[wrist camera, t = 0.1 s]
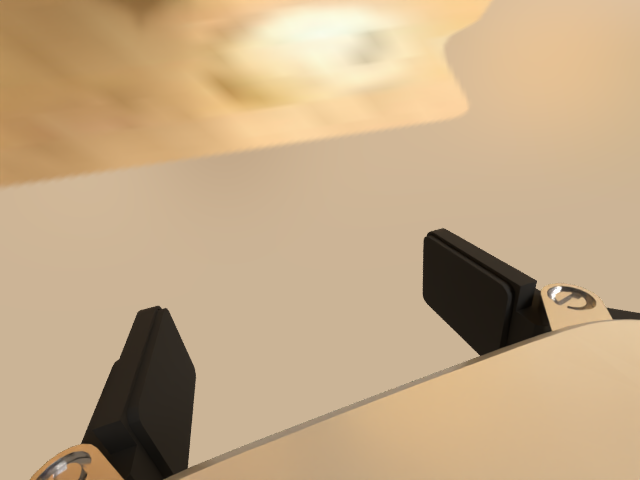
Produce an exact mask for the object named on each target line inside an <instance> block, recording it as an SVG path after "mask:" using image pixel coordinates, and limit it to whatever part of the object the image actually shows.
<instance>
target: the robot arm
mask: <svg viewBox="0 0 640 480" xmlns="http://www.w3.org/2000/svg"><path fill="white" fill-rule="evenodd" d="M536 283H537V281H536V280H535V279H533V278H531V277H529V276H528V275H526V274H524V273H522V272H520V271H519V270H517V269H515V268H513V267H512V266H510V265H508V264H506V263H505V262H503V261H501V260H499V259H497V258H496V257H494V256H492V255H490V254H489V253H487V252H485V251H483V250H482V249H480V248H478V247H476V246H474V245H473V244H471V243H469V242H467V241H466V240H464V239H462V238H460V237H459V236H457V235H455V234H453V233H451V232H450V231H448V230H446V229H444V228H443V229H439V230H435V231H431V232H429V233H428V234H427V237H425V238H424V249H423V298H424V300H425V301H426V303H427V304H428V305H429V306H430V307H431V308H432V309H433V310H434V311H435V312H436V313H437V314H438V315H439V316H440V317H441V318H442V319H443V320H444V321H445V322H446V323H447V324H448V325H450V327H451V328H453V329H454V330H455V331H456V332H457V333H458V334H459V335H460V336H461V337H462V338H463V339H464V340H465V341H466V342H467V343H468V344H469V345H470V346H471V347H472V348H473V349H474V350H475V351H476V352H477V353H478V354H479V355H480V356H479V357H476V358H474V359H471V360H468V361H466V362H463V363H461V364H458V365H455V366H452V367H450V368H447V369H444V370H441V371H439V372H436V373H433V374H431V375H428V376H425V377H423V378H420V379H418V380H415V381H412V382H409V383H407V384H404V385H401V386H399V387H396V388H394V389H391V390H388V391H385V392H383V393H380V394H378V395H375V396H373V397H370V398H367V399H364V400H362V401H359V402H357V403H354V404H351V405H349V406H346V407H343V408H341V409H338V410H335V411H333V412H330V413H328V414H325V415H323V416H320V417H317V418H315V419H312V420H309V421H307V422H304V423H302V424H299V425H297V426H294V427H291V428H289V429H286V430H283V431H281V432H278V433H275V434H273V435H270V436H268V437H265V438H263V439H260V440H257V441H255V442H252V443H250V444H247V445H245V446H242V447H240V448H237V449H235V450H232V451H230V452H227V453H225V454H222V455H220V456H217V457H215V458H212V459H210V460H207V461H205V462H202V463H200V464H198V465H195V466H193V467H190V468H188V458H189V447H190V435H191V424H192V414H193V403H194V402H193V401H194V391H195V380H196V373H195V368H194V365H193V363H192V361H191V359H190V357H189V354H188V352H187V350H186V348H185V346H184V343H183V342H182V339H181V337H180V335H179V332H178V330H177V328H176V326H175V324H174V321H173V319H172V317H171V315H170V313H169V311H168V310H167V309H166V308H165V309H161V307H160V306H155V307H151V308H148V309H144V310H140V311H139V312H138V313H137V315H136V318H135V321H134V323H133V326H132V329H131V331H130V333H129V336H128V338H127V341H126V344H125V346H124V348H123V351H122V354H121V356H120V359H119V360H118V361H116V362H115V363H114V365H113V367H112V369H111V372H110V374H109V377H108V379H107V381H106V384H105V387H104V389H103V391H102V394H101V397H100V399H99V401H98V404H97V406H96V409H95V411H94V413H93V416H92V418H91V421H90V423H89V426H88V428H87V430H86V433H85V436H84V438H83V440H82V443H81V444H80V445H76V446H73V447H70V448H68V449H66V450H64V451H62V452H60V453H59V454H57V455H56V456H55V457H53V458H52V459H50V460H49V461H47V462H46V463H45V464H44V465H43V466H42V467H41V468H40V469H39V470H38V471H37V472H36V473H35V474H34V475H33V476H32V477H31V479H30V480H640V313H635V312H629V311H623V310H617V309H610V308H606V306H605V305H604V303H603V301H602V300H601V299H600V297H598V296H597V295H596V294H594V293H593V292H591V291H589V290H587V289H585V288H582V287H579V286H576V285H571V284H565V283H554V284H548V285H546V286H544V287H543V288H542V289H541V291H539V290H538V289H536V288H535V287H536Z"/></svg>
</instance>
